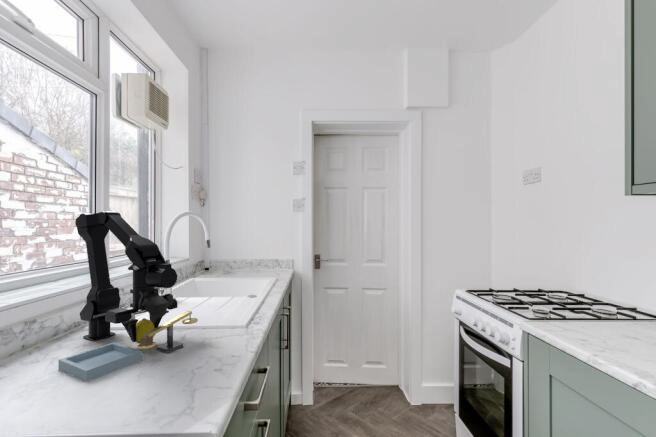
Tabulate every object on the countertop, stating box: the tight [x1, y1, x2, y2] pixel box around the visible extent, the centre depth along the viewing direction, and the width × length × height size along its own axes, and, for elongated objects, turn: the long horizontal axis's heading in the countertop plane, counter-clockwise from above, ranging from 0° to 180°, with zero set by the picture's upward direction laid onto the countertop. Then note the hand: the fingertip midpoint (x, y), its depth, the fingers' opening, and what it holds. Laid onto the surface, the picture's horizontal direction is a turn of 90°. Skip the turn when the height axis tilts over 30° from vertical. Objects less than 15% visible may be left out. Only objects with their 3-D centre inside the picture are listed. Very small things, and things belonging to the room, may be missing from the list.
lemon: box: [136, 318, 155, 345], centre depth 95 cm, size 6×6×8 cm
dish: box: [57, 341, 143, 383], centre depth 83 cm, size 13×13×2 cm
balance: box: [137, 310, 199, 354], centre depth 93 cm, size 5×18×9 cm, turn 152°
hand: (143, 338), depth 95 cm, fingers closed on lemon, 5 cm apart
